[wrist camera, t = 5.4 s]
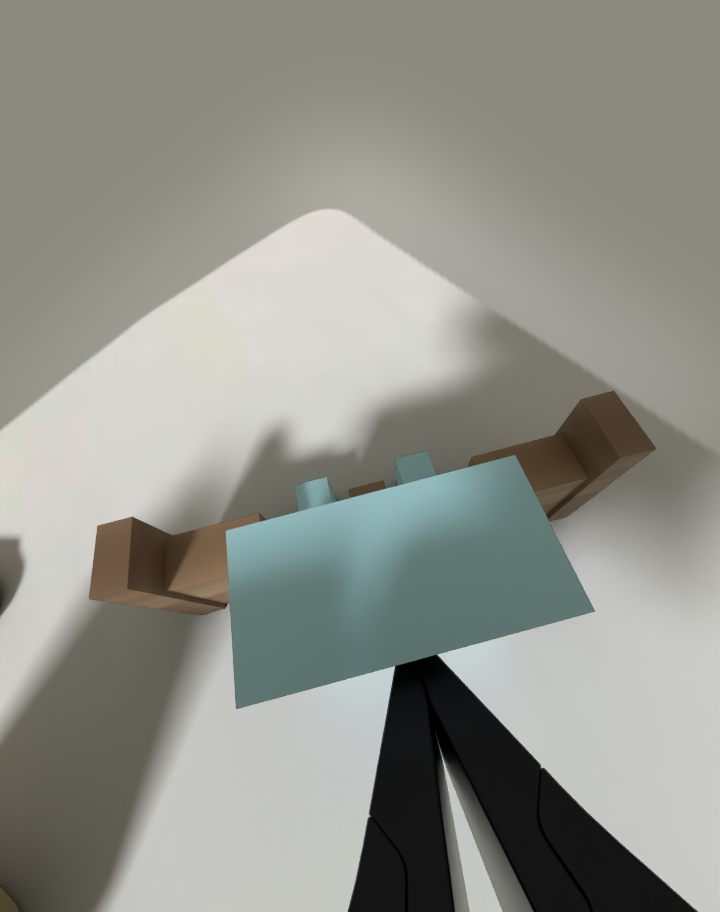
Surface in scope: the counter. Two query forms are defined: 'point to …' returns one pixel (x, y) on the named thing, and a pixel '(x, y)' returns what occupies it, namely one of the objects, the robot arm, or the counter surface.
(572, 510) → the rail
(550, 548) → the pale blue brick
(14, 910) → the squeeze bottle
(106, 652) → the counter surface
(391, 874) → the robot arm
